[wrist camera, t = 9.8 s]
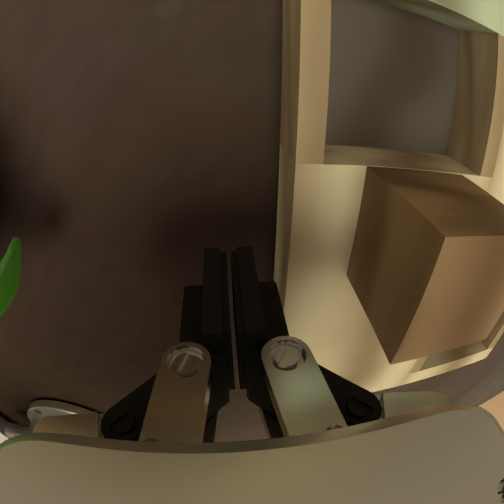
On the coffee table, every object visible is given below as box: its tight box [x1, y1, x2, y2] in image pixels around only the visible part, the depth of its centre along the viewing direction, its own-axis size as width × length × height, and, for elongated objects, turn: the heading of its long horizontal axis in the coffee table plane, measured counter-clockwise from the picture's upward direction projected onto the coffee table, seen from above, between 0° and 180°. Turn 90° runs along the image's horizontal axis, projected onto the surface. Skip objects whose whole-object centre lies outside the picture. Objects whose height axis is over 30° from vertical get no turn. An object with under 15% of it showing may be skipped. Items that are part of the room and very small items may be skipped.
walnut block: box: [346, 166, 504, 365], centre depth 10 cm, size 5×5×5 cm
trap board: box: [274, 0, 504, 392], centre depth 12 cm, size 20×29×6 cm
